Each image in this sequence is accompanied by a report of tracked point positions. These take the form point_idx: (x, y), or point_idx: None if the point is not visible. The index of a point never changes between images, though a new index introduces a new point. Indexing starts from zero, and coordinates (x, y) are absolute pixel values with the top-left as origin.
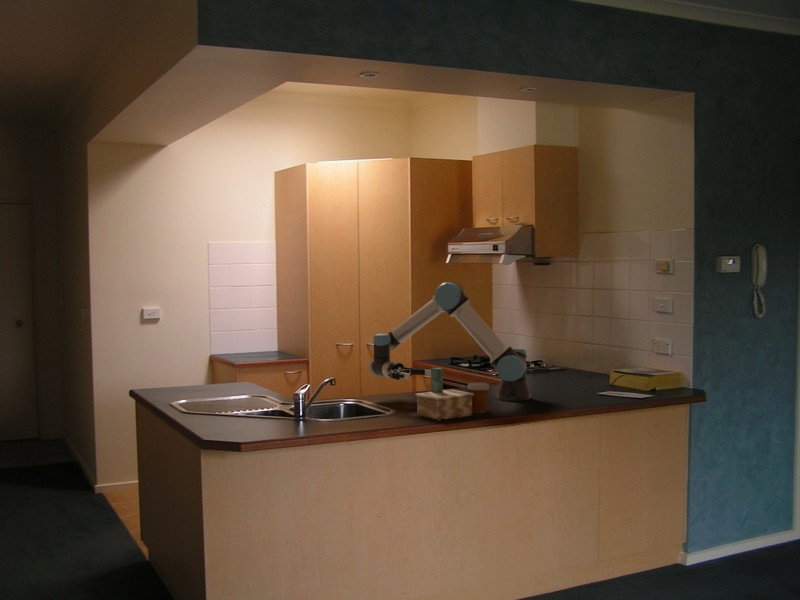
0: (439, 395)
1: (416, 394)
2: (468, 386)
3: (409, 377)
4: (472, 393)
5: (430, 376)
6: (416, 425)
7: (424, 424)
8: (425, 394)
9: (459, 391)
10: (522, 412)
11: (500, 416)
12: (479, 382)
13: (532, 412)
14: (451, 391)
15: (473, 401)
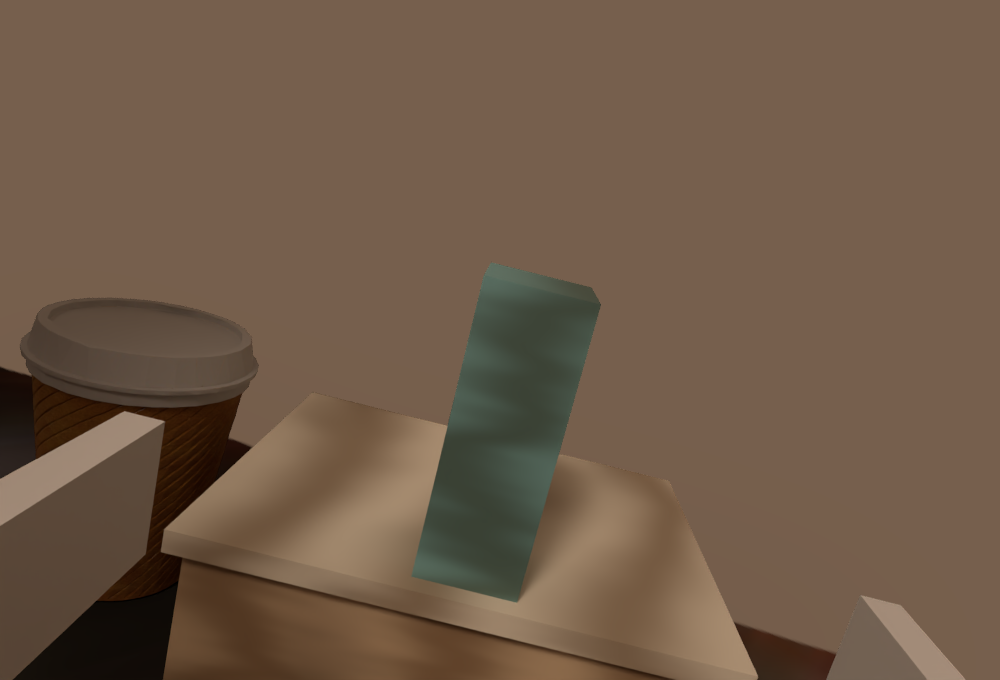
0: (580, 500)
1: (748, 666)
2: (224, 376)
3: (841, 673)
4: (313, 395)
5: (56, 634)
6: (818, 662)
7: (754, 643)
8: (667, 586)
9: (282, 453)
10: (22, 413)
11: (223, 457)
12: (48, 320)
13: (2, 390)
14: (330, 490)
15: (215, 478)
